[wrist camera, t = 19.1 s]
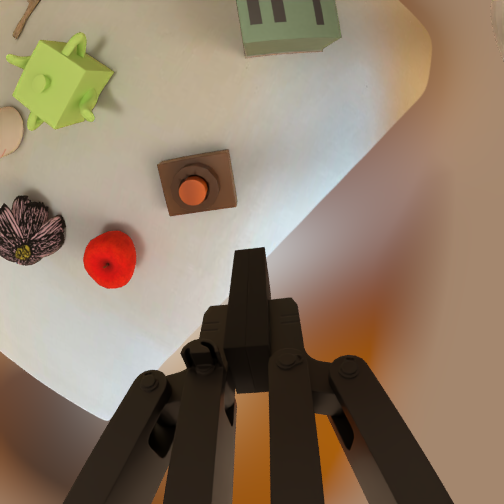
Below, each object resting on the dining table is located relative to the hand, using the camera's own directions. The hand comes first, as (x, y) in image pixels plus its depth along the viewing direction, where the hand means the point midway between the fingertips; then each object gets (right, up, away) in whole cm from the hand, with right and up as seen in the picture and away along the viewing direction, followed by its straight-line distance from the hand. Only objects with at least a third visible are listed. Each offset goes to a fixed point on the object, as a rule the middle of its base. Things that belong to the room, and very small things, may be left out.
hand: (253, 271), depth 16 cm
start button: (-8, +10, +24) cm, 27 cm away
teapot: (-26, +27, +19) cm, 42 cm away
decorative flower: (-40, +7, +31) cm, 51 cm away
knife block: (+3, +34, +15) cm, 37 cm away
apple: (-22, +2, +33) cm, 40 cm away
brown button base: (-8, +11, +28) cm, 31 cm away
